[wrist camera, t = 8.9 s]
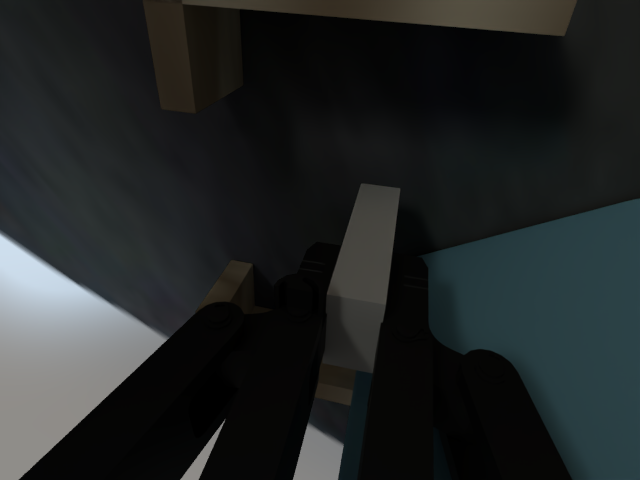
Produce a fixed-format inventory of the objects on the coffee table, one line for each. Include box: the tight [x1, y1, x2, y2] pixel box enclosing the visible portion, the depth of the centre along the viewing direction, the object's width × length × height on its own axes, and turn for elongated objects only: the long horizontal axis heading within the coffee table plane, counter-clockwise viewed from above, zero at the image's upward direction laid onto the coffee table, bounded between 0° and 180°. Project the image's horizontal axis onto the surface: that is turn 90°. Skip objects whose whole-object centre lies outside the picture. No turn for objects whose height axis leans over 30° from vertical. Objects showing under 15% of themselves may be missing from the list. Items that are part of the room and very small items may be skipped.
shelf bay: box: [143, 0, 577, 406], centre depth 16 cm, size 11×17×4 cm, turn 176°
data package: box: [338, 199, 640, 480], centre depth 13 cm, size 12×4×12 cm, turn 117°
